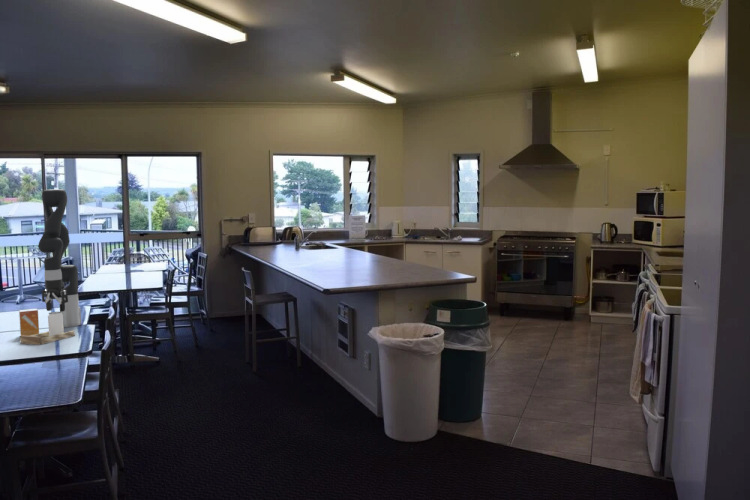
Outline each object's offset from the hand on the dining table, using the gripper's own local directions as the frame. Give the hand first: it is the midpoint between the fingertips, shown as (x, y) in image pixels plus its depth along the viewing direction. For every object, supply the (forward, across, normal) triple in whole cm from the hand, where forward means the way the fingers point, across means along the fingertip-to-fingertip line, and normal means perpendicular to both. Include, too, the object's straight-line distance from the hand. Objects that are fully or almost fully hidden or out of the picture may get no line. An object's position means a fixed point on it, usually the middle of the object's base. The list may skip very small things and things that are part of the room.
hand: (55, 311), depth 292 cm
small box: (+14, +18, 0) cm, 22 cm away
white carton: (+13, 0, 0) cm, 13 cm away
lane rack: (+13, 0, +6) cm, 14 cm away
